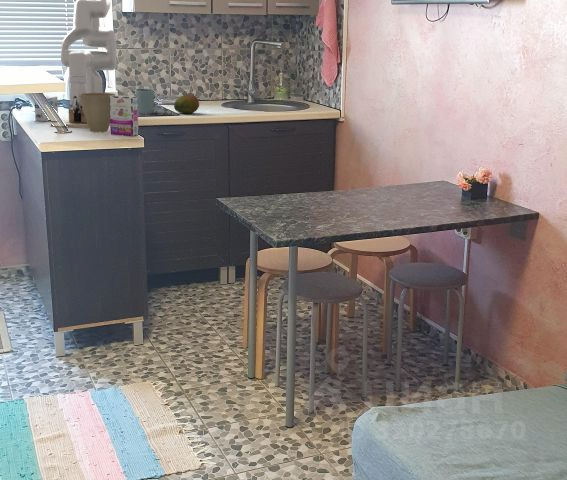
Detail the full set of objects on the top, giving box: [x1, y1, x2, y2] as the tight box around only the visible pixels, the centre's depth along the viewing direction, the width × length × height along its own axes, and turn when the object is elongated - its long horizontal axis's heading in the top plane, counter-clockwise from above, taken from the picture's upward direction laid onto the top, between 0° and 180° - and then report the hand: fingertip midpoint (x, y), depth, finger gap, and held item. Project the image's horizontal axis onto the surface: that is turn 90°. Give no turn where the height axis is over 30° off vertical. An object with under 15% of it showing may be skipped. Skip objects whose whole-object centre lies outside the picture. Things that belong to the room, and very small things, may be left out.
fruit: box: [173, 93, 200, 115], centre depth 421 cm, size 12×13×10 cm
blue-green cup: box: [134, 88, 156, 115], centre depth 417 cm, size 10×10×12 cm
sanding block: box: [68, 107, 87, 123], centre depth 364 cm, size 5×8×6 cm, turn 86°
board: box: [50, 119, 89, 129], centre depth 364 cm, size 13×18×1 cm
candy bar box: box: [109, 94, 139, 137], centre depth 340 cm, size 11×5×16 cm, turn 69°
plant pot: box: [80, 92, 116, 133], centre depth 348 cm, size 15×15×16 cm
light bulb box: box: [34, 95, 59, 122], centre depth 378 cm, size 11×7×11 cm, turn 168°
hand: (79, 120), depth 365 cm, fingers closed on sanding block, 5 cm apart
